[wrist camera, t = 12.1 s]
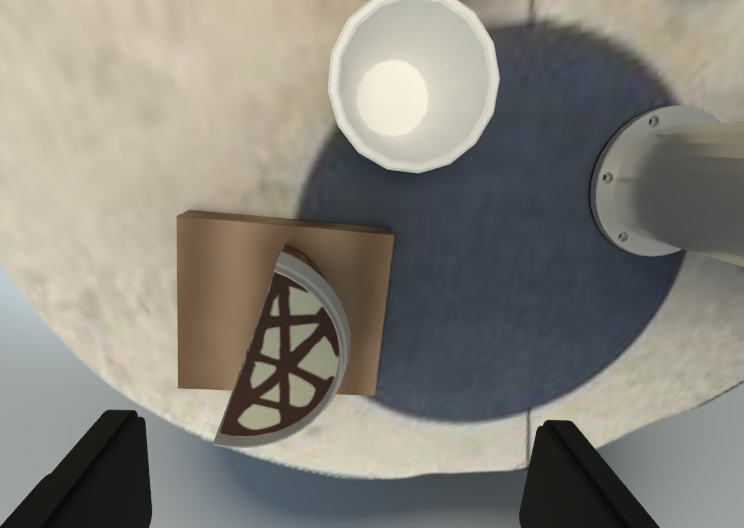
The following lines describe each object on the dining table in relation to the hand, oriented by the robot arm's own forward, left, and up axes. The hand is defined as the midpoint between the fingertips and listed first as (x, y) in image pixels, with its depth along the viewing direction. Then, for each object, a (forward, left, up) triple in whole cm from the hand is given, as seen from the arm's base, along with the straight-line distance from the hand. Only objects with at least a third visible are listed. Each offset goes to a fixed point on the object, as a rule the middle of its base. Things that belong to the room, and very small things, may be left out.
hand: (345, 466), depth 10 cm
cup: (-4, -11, -27) cm, 29 cm away
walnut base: (+3, +6, -27) cm, 27 cm away
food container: (+2, +6, -24) cm, 24 cm away
